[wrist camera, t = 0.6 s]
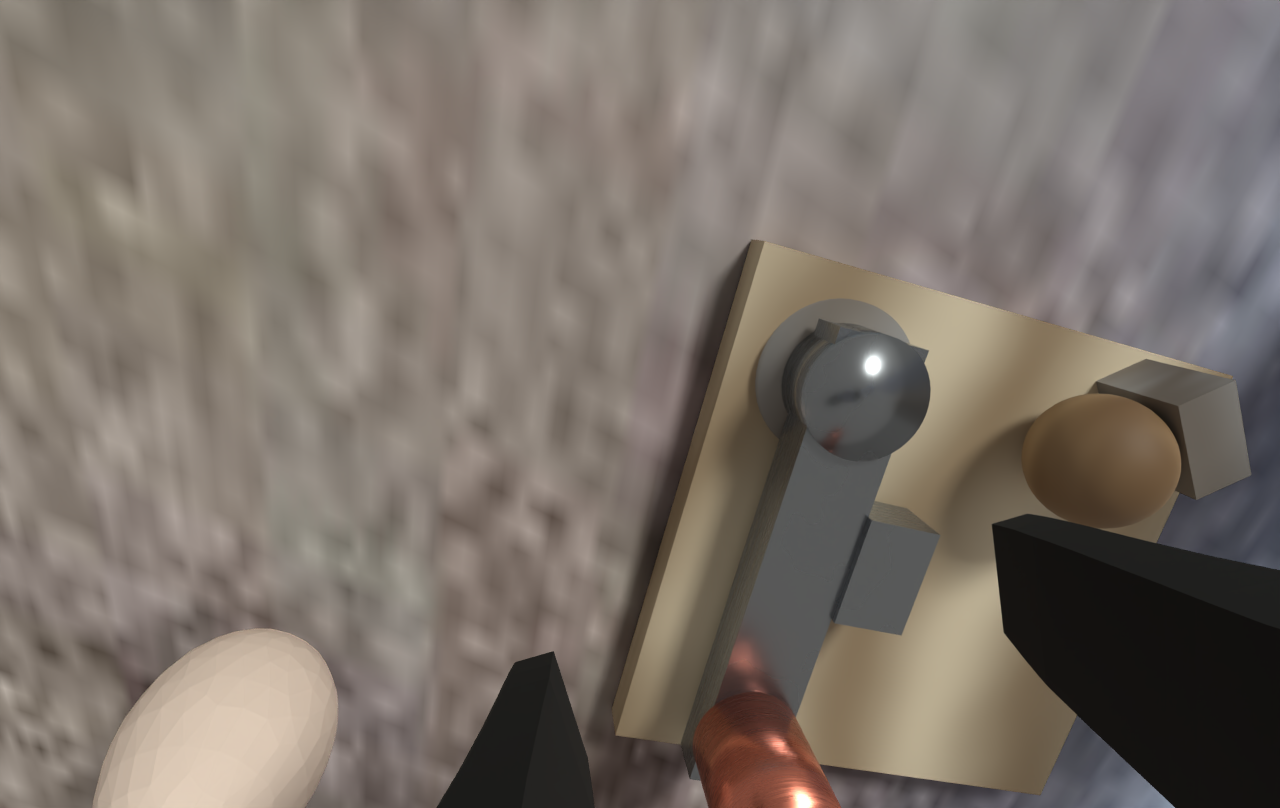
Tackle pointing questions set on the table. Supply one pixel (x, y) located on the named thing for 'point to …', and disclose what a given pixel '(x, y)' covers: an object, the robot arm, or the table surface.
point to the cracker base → (926, 513)
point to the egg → (227, 729)
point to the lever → (811, 565)
